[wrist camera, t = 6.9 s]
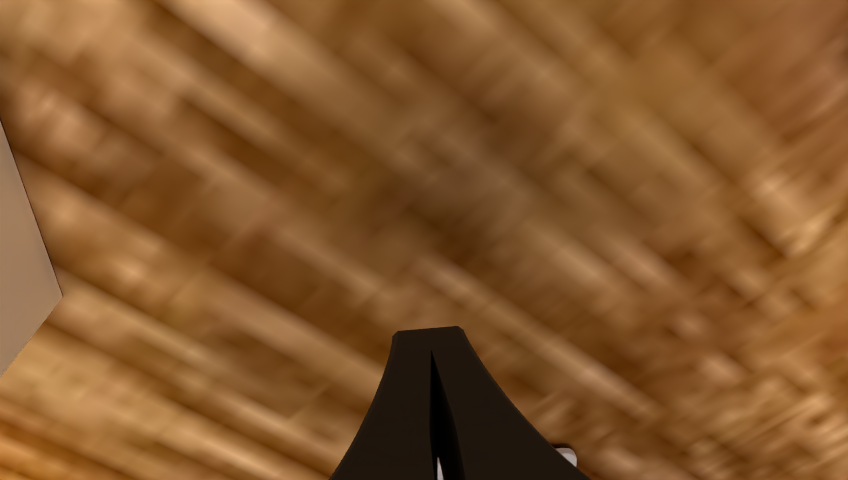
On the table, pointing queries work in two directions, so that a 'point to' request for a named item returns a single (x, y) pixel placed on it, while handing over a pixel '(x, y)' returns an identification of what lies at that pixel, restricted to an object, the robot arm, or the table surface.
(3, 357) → the box
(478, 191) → the table surface
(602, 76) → the table surface
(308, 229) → the table surface
